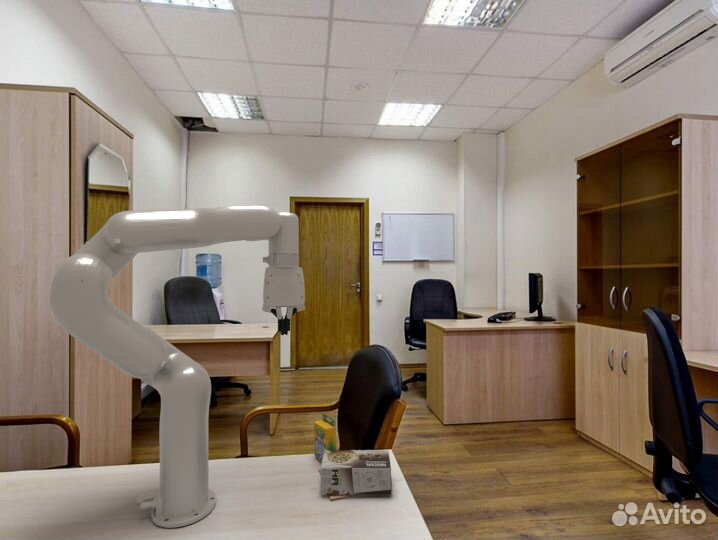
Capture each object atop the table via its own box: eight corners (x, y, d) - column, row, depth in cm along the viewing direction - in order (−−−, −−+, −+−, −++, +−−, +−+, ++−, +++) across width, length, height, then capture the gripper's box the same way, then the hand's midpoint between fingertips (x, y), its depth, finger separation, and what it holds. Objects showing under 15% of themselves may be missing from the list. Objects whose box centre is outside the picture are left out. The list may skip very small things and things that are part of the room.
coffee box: (319, 496, 84) (391, 497, 84) (319, 467, 84) (391, 467, 84) (324, 475, 93) (389, 475, 93) (324, 448, 93) (389, 449, 93)
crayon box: (314, 457, 102) (313, 414, 103) (323, 455, 104) (323, 412, 105) (326, 467, 96) (326, 421, 97) (336, 464, 98) (336, 419, 98)
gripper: (253, 261, 89) (253, 338, 89) (315, 261, 94) (316, 335, 93) (252, 262, 96) (252, 333, 96) (310, 262, 101) (310, 330, 101)
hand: (284, 334), depth 95 cm, fingers closed
